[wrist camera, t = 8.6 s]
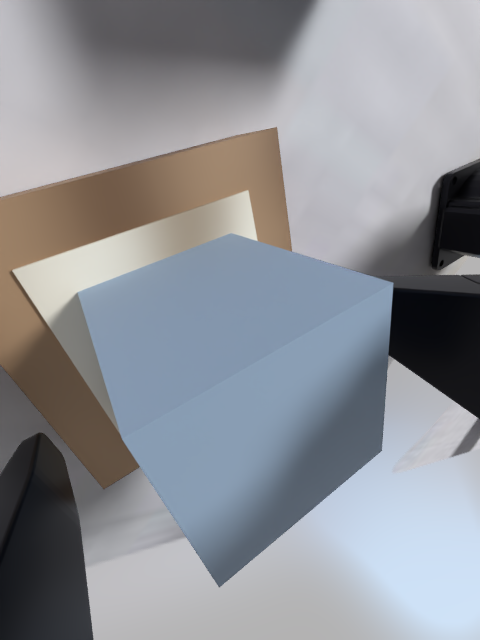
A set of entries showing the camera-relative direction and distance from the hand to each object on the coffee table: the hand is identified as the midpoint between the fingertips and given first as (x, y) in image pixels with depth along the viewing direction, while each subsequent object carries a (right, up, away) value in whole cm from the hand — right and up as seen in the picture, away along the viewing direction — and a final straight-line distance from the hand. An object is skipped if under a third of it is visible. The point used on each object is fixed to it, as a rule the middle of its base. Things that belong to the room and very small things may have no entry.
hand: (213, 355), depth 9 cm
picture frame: (-2, +2, +4) cm, 5 cm away
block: (-1, +1, +2) cm, 2 cm away
